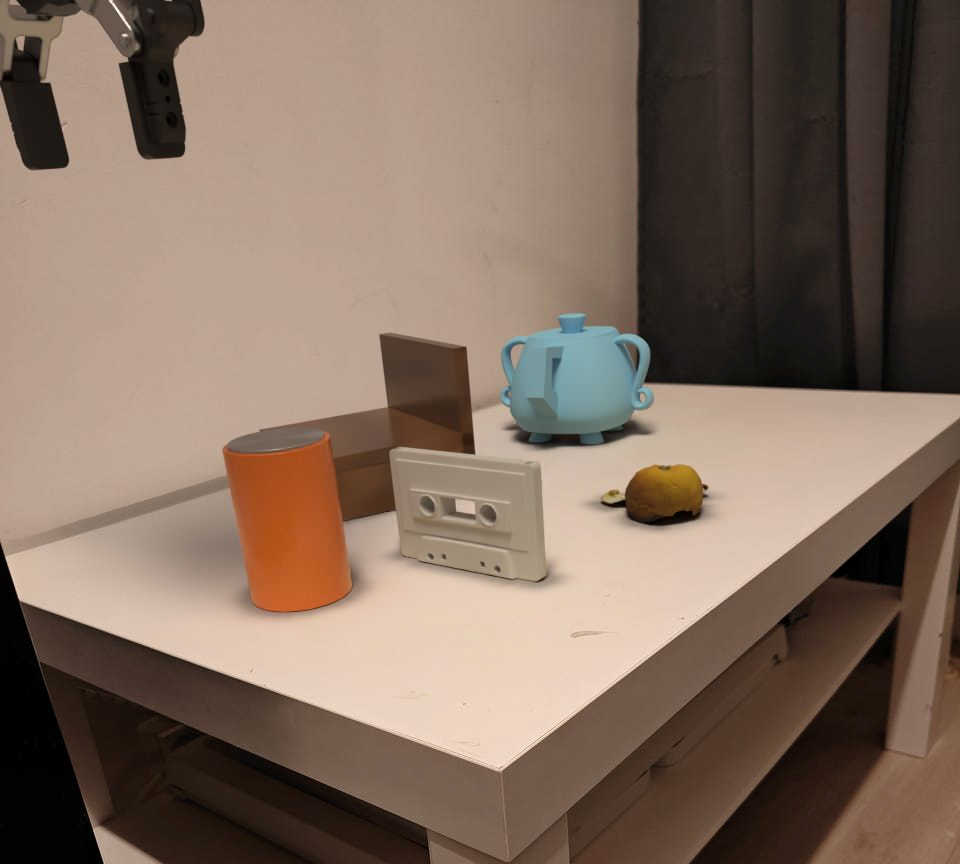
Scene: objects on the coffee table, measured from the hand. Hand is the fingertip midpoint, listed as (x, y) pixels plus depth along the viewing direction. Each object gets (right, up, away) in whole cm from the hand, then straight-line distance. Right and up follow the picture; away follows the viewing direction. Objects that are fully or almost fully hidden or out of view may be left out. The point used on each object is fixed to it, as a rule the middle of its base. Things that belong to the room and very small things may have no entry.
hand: (103, 164), depth 44 cm
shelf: (+8, -9, +40) cm, 41 cm away
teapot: (+28, -1, +53) cm, 60 cm away
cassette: (+17, -18, +19) cm, 31 cm away
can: (+6, -19, +17) cm, 27 cm away
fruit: (+32, -12, +28) cm, 44 cm away
